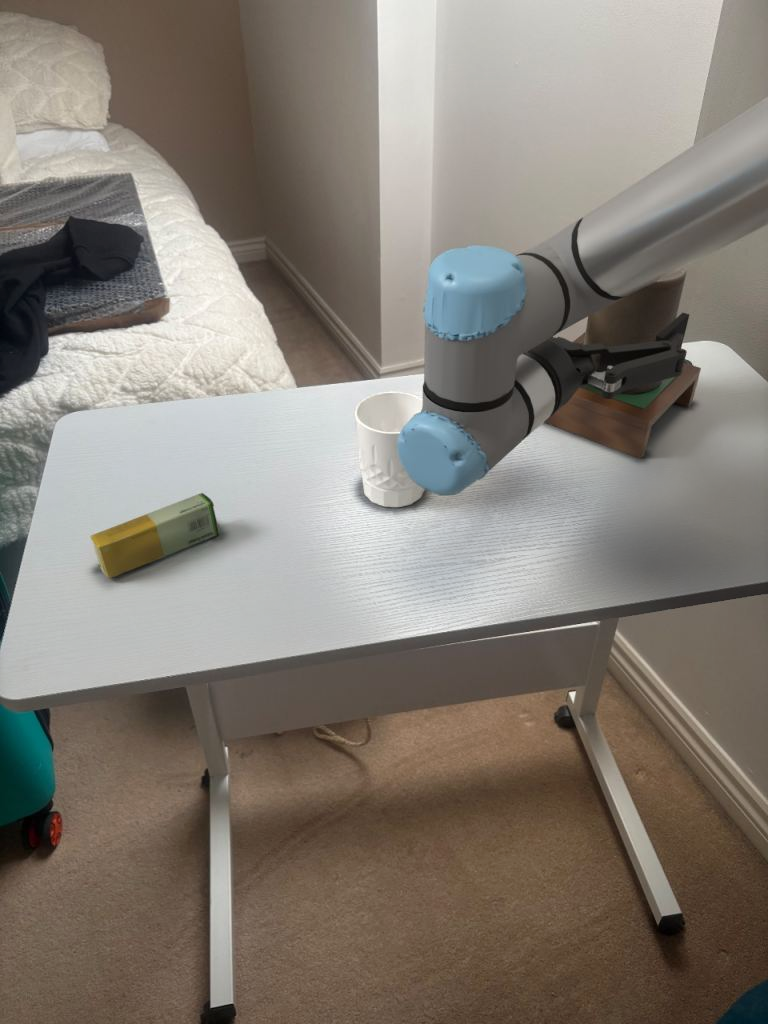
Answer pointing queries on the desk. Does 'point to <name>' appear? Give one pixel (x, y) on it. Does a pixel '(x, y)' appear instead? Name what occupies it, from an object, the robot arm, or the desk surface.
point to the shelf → (623, 411)
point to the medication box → (155, 535)
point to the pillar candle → (638, 317)
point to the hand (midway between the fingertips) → (623, 307)
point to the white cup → (385, 447)
